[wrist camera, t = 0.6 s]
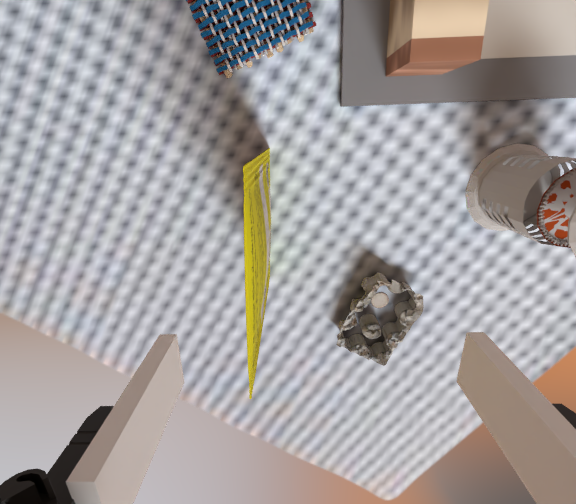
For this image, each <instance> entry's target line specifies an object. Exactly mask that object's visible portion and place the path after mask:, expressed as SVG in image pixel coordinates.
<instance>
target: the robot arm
mask: <svg viewBox="0 0 576 504" xmlns="http://www.w3.org/2000/svg"><path fill="white" fill-rule="evenodd" d="M457 383H458V384H459V386H460V387H461V389H462V390H463V392H464V393H465V395H466V396H467V398H468V399H469V401H470V403H471V404H472V406H473V407H474V409H475V410H476V412H477V413H478V415H479V416H480V418H481V419H482V421H483V422H484V424H485V425H486V427H487V429H488V430H489V432H490V433H491V435H492V436H493V438H494V439H495V441H496V442H497V444H498V445H499V447H500V448H501V449H502V451H503V453H504V455H505V456H506V458H507V459H508V460H509V462H510V464H511V465H512V467H513V468H514V470H515V471H516V473H517V474H518V476H519V477H520V479H521V480H522V482H523V484H524V485H525V486H526V488H527V490H528V491H529V493H530V494H531V496H532V497H533V499H534V500H535V502H536V503H537V504H576V413H574V412H573V411H571V410H570V409H568V408H567V407H565V406H564V405H562V404H551V403H550V402H549V401H548V400H547V399H546V398H545V396H544V395H543V394H542V393H541V392H540V391H539V390H538V389H537V388H536V387H535V386H534V385H533V384H532V383H531V382H530V380H529V379H528V378H527V377H526V376H525V375H524V374H523V373H522V372H521V371H520V370H519V369H518V368H517V367H516V366H515V365H514V364H513V363H512V361H511V360H510V359H509V358H508V357H507V356H506V355H505V354H504V353H503V352H502V351H501V350H500V349H499V348H498V347H497V346H496V345H495V343H494V342H493V341H492V340H491V339H490V338H489V337H488V336H487V335H486V334H485V333H484V332H467V334H466V339H465V344H464V348H463V353H462V358H461V363H460V367H459V372H458V377H457ZM183 384H184V378H183V371H182V365H181V359H180V353H179V346H178V340H177V334H168V335H159V337H158V338H157V340H156V341H155V343H154V345H153V346H152V348H151V349H150V351H149V352H148V354H147V356H146V357H145V359H144V360H143V362H142V363H141V365H140V366H139V368H138V370H137V371H136V373H135V374H134V376H133V377H132V379H131V381H130V382H129V384H128V385H127V387H126V388H125V390H124V392H123V393H122V395H121V396H120V398H119V399H118V401H117V402H116V404H115V406H100V407H99V408H98V409H97V410H96V411H94V412H93V413H92V414H91V415H90V416H88V417H87V418H86V420H85V421H84V423H83V424H82V426H81V427H80V428H79V430H78V431H77V434H75V435H74V437H73V438H72V440H71V441H70V443H69V445H68V446H67V447H66V448H65V449H64V451H63V452H62V454H61V455H60V457H59V458H58V459H57V461H56V462H55V464H54V465H53V467H52V468H51V469H50V471H49V472H48V474H46V472H45V471H43V470H40V469H31V470H26V471H23V472H21V473H18V474H16V475H14V476H13V477H11V478H9V479H8V480H6V481H5V482H4V483H3V484H2V485H0V504H133V503H134V500H135V498H136V496H137V493H138V491H139V488H140V486H141V484H142V481H143V479H144V477H145V474H146V472H147V470H148V467H149V465H150V462H151V460H152V458H153V455H154V453H155V451H156V448H157V446H158V444H159V441H160V439H161V436H162V434H163V432H164V429H165V427H166V425H167V422H168V420H169V418H170V415H171V413H172V410H173V408H174V405H175V403H176V401H177V399H178V396H179V394H180V391H181V389H182V387H183Z"/></svg>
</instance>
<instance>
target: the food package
mask: <svg viewBox="0 0 576 504" xmlns="http://www.w3.org/2000/svg"><path fill="white" fill-rule="evenodd" d="M269 149H270V148H268V149H267V150H266V151H264V152H263V153H261V154H260V155H259V156H257V157H256V158H254V159H253V160H252V161H250V162H248V163H247V164H245V165H244V166H243V174H244V176H243V181H244V256H245V296H246V326H247V352H248V372H249V382H250V383H249V387H250V390H249V392H250V399H251V398H252V390H253V384H254V379H255V373H256V367H257V360H258V353H259V346H260V340H261V333H262V326H263V320H264V313H265V306H266V300H267V293H268V287H269V279H270V246H271V199H270V168H269V166H270V160H269V159H270V156H269V154H270V151H269Z"/></svg>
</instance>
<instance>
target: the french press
mask: <svg viewBox="0 0 576 504" xmlns="http://www.w3.org/2000/svg"><path fill="white" fill-rule="evenodd" d="M550 157H551V158H552V159H550ZM556 157H558V156H548V155H547V154H546V153H544V152H543V151H542V150H540V149H539V148H537V147H536V146H533V145H526V144H519V143H517V144H513V145H509V146H505V147H501V148H499V149H497V150H496V151H494V152H493V153H491V154H490V155H488V156H487V157H485V158H484V159H483V160H482V161H481V162H480V164H479V165H478V166H477V168H476V169H475V170H474V171H473V173H472V174H471V176H470V179H469V182H468V186H467V189H466V192H465V193H466V204H467V209H468V211H469V213H470V214H471V216H472V218H473V219H474V221H475V222H477V223H478V224H480V225H481V226H483V227H485V228H486V229H491V230H498V231H505V230H512V231H514V232H516V233H518V234H521V235H523V236H525V237H527V238H530V239H532V240H534V241H536V242H539V243H541V244H547V245H555V246H561V247H569V248H571V249H572V251H573V253H574V255H575V257H576V164H575V163H573V162H571V160H573V161H575V162H576V158H569V157H558V158H556ZM565 162H568V163H570V164H571V166H572V168H573V169H572V170H570V171H569V169H568V167H567V165H566V163H565ZM558 164H561V165H562V167H563V169H564V175H562V176H561V177H560V169H559V167H558ZM530 224H534V226H532V227H530V228H528V229H526V228H525V227H527V226H528V225H530ZM536 228H539V231H538V232H534V233H528V231H532V230H535V229H536ZM515 229H516V230H515ZM520 232H521V233H520ZM539 234H542V235H543V236H542V237H537V238H534V237H531V236H534V235H539ZM536 239H537V240H536ZM543 239H546V240H548V241H547V242H543V241H538V240H543Z"/></svg>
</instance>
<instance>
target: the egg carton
mask: <svg viewBox="0 0 576 504" xmlns="http://www.w3.org/2000/svg"><path fill="white" fill-rule="evenodd" d="M361 284H362V285H361V286H362V287H363V289H364V291H365V294H364V295H363V297H361V298H359V299H352V302H351V305H350V310H351V313H350V314H349V315H348V316H347V318H346V320H341V321H340V322H339V325H338V327H339V328H340V333H339V334H338V335H337V338H338V342H337V345H338V346H340V347H341V346H343V347H345V348H347V349H348V350H349V351H350V352H355V353H357V354H358V355H360V356H363V357H365V358H367V359H368V360H369V359H372V360H374V361H375V362H377V363H379V364H381V365H386V363H387V361H388V360H389V358H390V356H391V355H392V352H393V350H394V348H397V345H398V343H399V342H402V341H403V339H404V337H405V335H406V333H407V332H408V331H409V330H410V328H411V326H412V324H413V323H414V322H415V321H416V320H417V319H418V318H419V317H420V316H421V314H422V312H423V296H422V295H421V294H415V293H414V291H412V289H411V288H410V287H409V285H408V284H406V283H404V282H400V283H399V282H397V281H395V280H391V282H389V281H388V280H387V279H386V277H385V276H384V275H383V274H381V273H379V272H377V273H376V274H375V275H373V276H372V277H365V278H364V279H363V281H362V283H361ZM382 285H386V286H387V287H388V289H389V290H390V291H391V292H392V293H401V292H404V291H406V290H407V291H408V293H409V294H410V295H411V298H410V299H409V301H408V302H407V301H402V302H399V303H398V304H397V305H396V306H395V308H394V312H395V314H396V316H397V317H398V319H397V320H396V322H395V323H393V322H390V323H387V324H385V325H384V326H383V328H382V334H383V336H384V338H385V340H384V342H383V343H382V342H377V343H374V344H373V345H372V346H368V345H367V344H366V341H365V339H364V337H363V336H362V335H360V334H354V335H352V336H350V337H349V338H346V337H344V336H343V332H342V331H343V330H344V331H345V330H347V329H351V328H353V327H354V326H357V324H358V323H357V320H356V316H355V313H354V312H361V311H363V308H365V307H367V306H368V304H371V303H372V305H373V306H374V307H376V308H382V307H385V306H386V305H387V304H388V302H389V298H388V296H387V294H385V293H383V292H381V293H380V292H379V293H376V292H377V290H378V288H379V287H380V286H382ZM371 298H372V299H371ZM359 325H360V327H361V330H362V333H363V335H365V336H366V337H367V338H369V339H374V338H378V337H380V336H381V328H380V325H379V323H378V321H377V319H376V317H375V316H374V315H373V314H365V315H363V316H361V318H360V319H359Z"/></svg>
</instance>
